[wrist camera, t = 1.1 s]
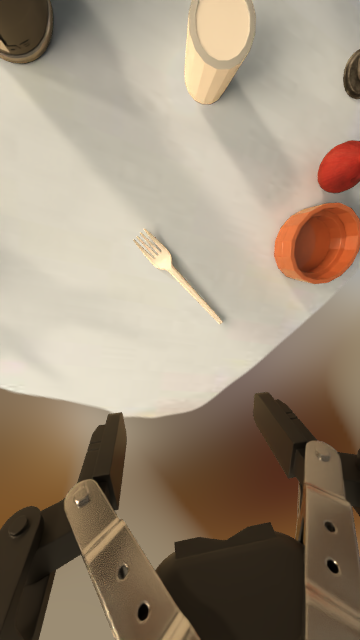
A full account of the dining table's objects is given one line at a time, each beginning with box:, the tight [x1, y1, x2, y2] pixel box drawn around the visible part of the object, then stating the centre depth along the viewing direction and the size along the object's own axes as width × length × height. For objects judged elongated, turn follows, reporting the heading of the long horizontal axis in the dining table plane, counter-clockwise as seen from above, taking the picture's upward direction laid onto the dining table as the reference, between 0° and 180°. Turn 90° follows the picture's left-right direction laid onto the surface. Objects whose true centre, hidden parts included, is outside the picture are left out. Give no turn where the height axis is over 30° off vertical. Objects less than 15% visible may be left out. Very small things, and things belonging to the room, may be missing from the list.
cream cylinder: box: [184, 0, 256, 104], centre depth 24 cm, size 7×7×7 cm
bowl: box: [274, 203, 360, 284], centre depth 34 cm, size 11×11×5 cm
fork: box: [134, 229, 223, 324], centre depth 35 cm, size 3×20×2 cm, turn 43°
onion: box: [318, 140, 360, 193], centre depth 29 cm, size 6×6×8 cm
